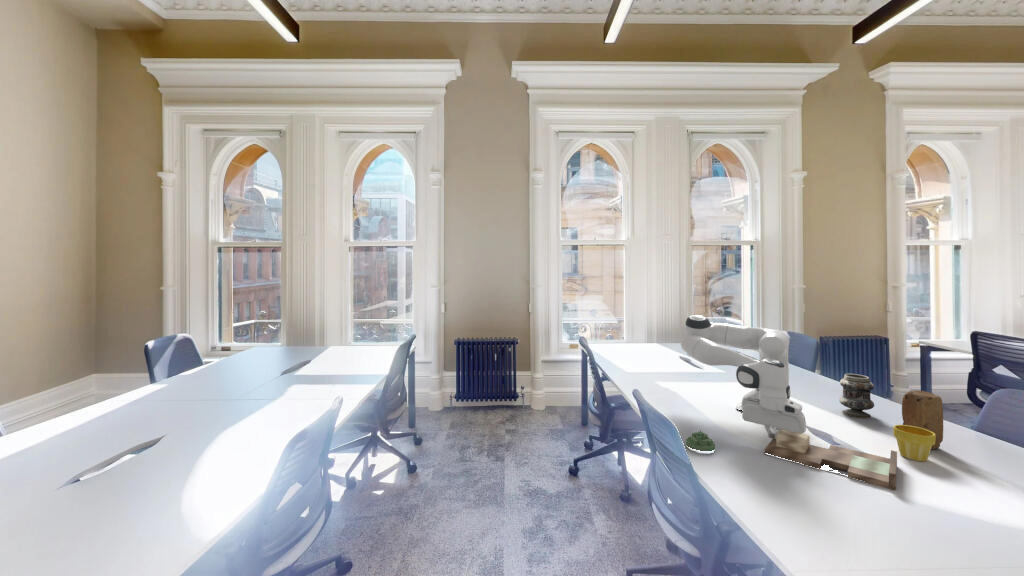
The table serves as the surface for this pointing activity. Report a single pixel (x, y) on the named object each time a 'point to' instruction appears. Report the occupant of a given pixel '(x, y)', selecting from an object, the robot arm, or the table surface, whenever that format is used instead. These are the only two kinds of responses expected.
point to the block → (924, 413)
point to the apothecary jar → (856, 395)
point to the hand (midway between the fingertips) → (772, 437)
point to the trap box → (844, 462)
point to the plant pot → (914, 441)
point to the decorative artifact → (700, 442)
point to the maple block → (792, 440)
